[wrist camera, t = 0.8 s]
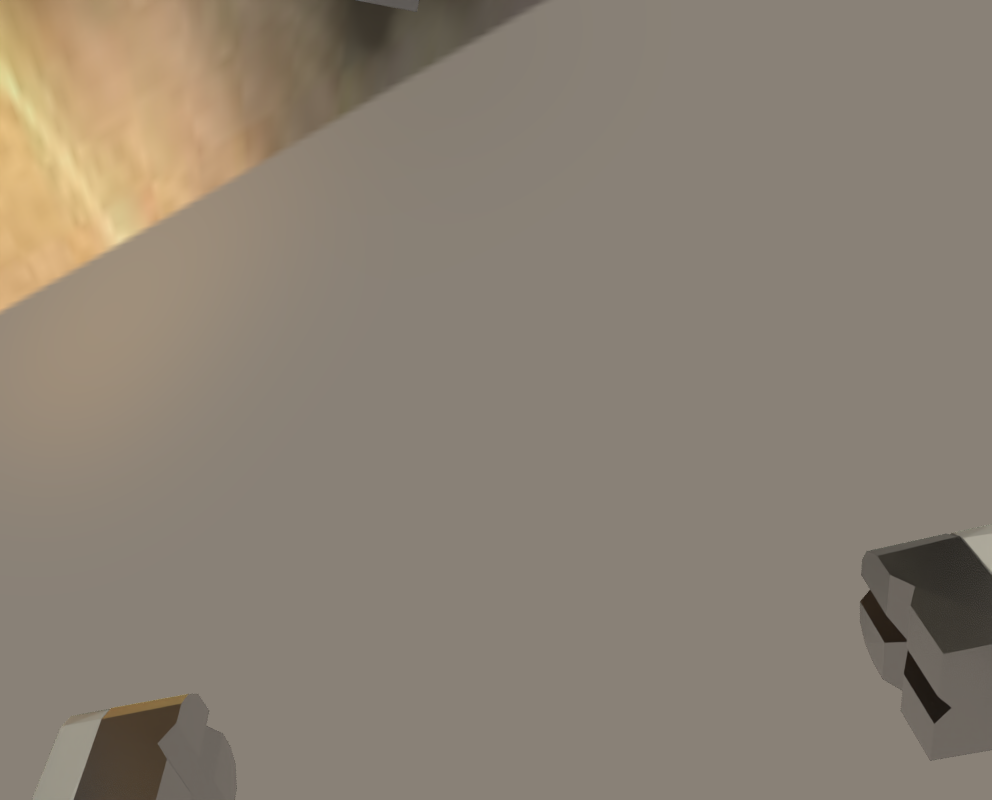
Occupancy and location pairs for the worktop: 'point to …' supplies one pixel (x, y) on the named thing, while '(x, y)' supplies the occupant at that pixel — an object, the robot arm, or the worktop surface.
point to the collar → (396, 4)
